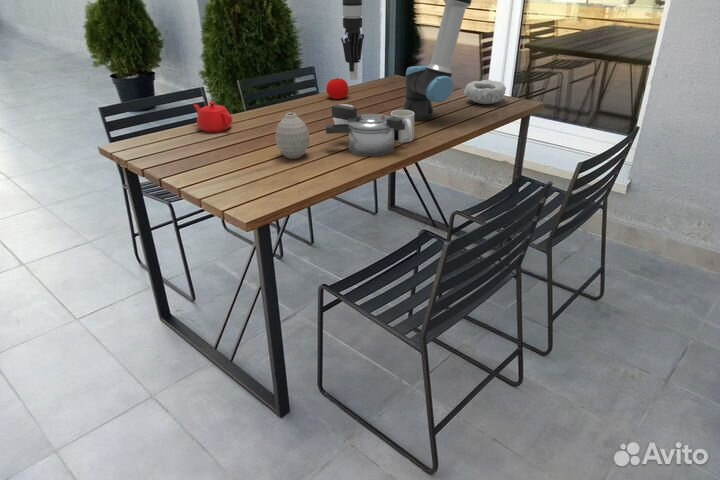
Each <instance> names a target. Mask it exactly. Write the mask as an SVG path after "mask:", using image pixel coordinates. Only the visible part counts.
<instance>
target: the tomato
mask: <svg viewBox="0 0 720 480" xmlns="http://www.w3.org/2000/svg"><path fill="white" fill-rule="evenodd" d="M349 90H350V89H349V86H348V82H347V81H346V80H345V79H344V78H332V79H330V80H329V81H328V82H327V84H326V93H327V95H328V96H329V97H330V98H331V99H333V100H342V99H345V98H346V97H347V96H348V95H349Z"/></svg>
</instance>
